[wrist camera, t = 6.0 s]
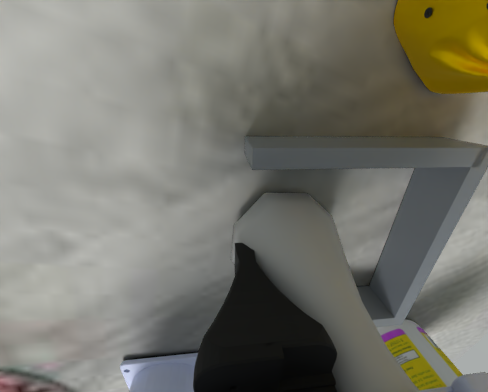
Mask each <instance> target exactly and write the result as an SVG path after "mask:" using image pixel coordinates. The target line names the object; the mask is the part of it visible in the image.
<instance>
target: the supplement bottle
mask: <svg viewBox="0 0 488 392" xmlns="http://www.w3.org/2000/svg"><path fill="white" fill-rule="evenodd" d="M377 330H378V332H379V333H380V335H381V337H382V339H383V341H384V343H385V344H386V346H387V348H388V349H389V351H390V352H391V353H392V355H393V356H394V358H395V359H396V360H397V362H398V363H399V364H400V366H401V367H402V369H403V370H404V371H405V373H406V374H407V376H408V377H409V378H410V380H411V381H412V382H413V383H414V385H415V386H416V387H417V388H418V389H419V390H426V389H433V388H441V387H448V386H451V384H452V382H453V381H454V380H455V379H456V378H457V377H459V376H462V373H461V372H460V371H459V370H458V369H457V368H456V367H455V365H454V364H453V363H452V362H451V361H450V360H449V358H448V357H447V356H446V355H445V354H444V353H443V352H442V351H441V349H440V348H439V347H438V346H437V345H436V344H435V343H434V341H433V340H432V339H431V338H430V337H429V336H428V335H427V333H426V332H425V331H424V330H423V329H422V328H421V327H420V326H419V325H418V324H417V323H415V322H413V321H411V320H407V319H405V320H404V322H403V324H402V325H396V326H387V327H377Z"/></svg>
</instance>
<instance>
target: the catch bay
mask: <svg viewBox="0 0 488 392" xmlns="http://www.w3.org/2000/svg"><path fill="white" fill-rule="evenodd" d="M245 155H246V158H247V160H248V162H249V164H250V167H251V169H252V170H280V169H357V168H415V170H414V172H413V175H412V177H411V180H410V183H409V185H408V188H407V190H406V193H405V195H404V198H403V200H402V203H401V206H400V208H399V211H398V213H397V216H396V218H395V221H394V224H393V226H392V229H391V231H390V234H389V236H388V239H387V242H386V244H385V247H384V249H383V252H382V254H381V257H380V260H379V262H378V265H377V267H376V270H375V272H374V275H373V278H372V280H371V283H370V285H369V286H362V287H357V289H358V292H359V295H360V297H361V300H362V302H363V304H364V306H365V308H366V310H367V312H368V313H369V315H370V317H371V319H372V321H373V323H374V324H375V326H376V328H377V327H387V326H396V325H402V324H403V322H404V320H405V318H406V316H407V315H408V313H409V311H410V309H411V307H412V305H413V304H414V302H415V300H416V298H417V296H418V294H419V293H420V291H421V289H422V287H423V285H424V283H425V282H426V280H427V278H428V276H429V274H430V272H431V271H432V269H433V267H434V265H435V263H436V261H437V259H438V258H439V256H440V254H441V252H442V250H443V248H444V247H445V245H446V243H447V241H448V239H449V237H450V236H451V234H452V232H453V230H454V228H455V226H456V225H457V223H458V221H459V219H460V217H461V215H462V213H463V212H464V210H465V208H466V206H467V204H468V202H469V201H470V199H471V197H472V195H473V193H474V191H475V190H476V188H477V186H478V184H479V182H480V180H481V179H482V177H483V175H484V173H485V171H486V169H487V167H488V146H486V145H481V144H476V143H470V142H465V141H459V140H454V139H449V138H443V137H288V136H245Z"/></svg>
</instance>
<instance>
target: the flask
mask: <svg viewBox="0 0 488 392" xmlns="http://www.w3.org/2000/svg"><path fill="white" fill-rule="evenodd" d="M235 243H244V244H245V245H247V246H248V247H250V248H251V249H253V250H254V251H255V259H256V262H257V264H258V265H259V267H260V268H261V269H262V271H263V272H264V273H265V275H266V276H267V277H268V278H269V280H270V281H271V282H272V283H273V284H274V285H275V286H276V287H277V288H278V289H279V290H280V291H281V292H282V293H283V294H284V295H285V296H286V297H287V298H288V299H289V300H290V301H291V302H292V303H294V304H295V305H296V306H297V307H298V308H299V309H301V310H302V311H303V312H304V313H306V314H307V315H309V316H310V317H312V318H313V319H314V320H316V321H317V322H319V323H320V324H322V325H323V327H324V328H325V330H326V331H327V333H328V335H329V336H330V338H331V340H332V342H333V344H334V346H335V348H336V351H337V359H336V361H335V364H334V367H333V369H332V373H333V375H334V378H335V380H336V385H335V387H336V390H337V392H420V390H419V389H418V388H417V387H416V386H415V385H414V383H413V382H412V381H411V380H410V378H409V377H408V376H407V374H406V373H405V371H404V370H403V369H402V367H401V366H400V364H399V363H398V362H397V360H396V359H395V358H394V356H393V355H392V353H391V352H390V351H389V349H388V348H387V346H386V344H385V343H384V341H383V339H382V337H381V335H380V333H379V332H378V330H377V328H376V326H375V324H374V323H373V321H372V319H371V317H370V315H369V313H368V312H367V310H366V308H365V306H364V304H363V302H362V300H361V297H360V295H359V292H358V289H357V287H356V284H355V281H354V279H353V276H352V273H351V271H350V268H349V265H348V262H347V260H346V257H345V254H344V251H343V248H342V245H341V242H340V239H339V236H338V232H337V229H336V226H335V223H334V221H333V218H332V215H330V214H329V213H328V212H327V211H326V210H325V209H324V208H323V207H322V206H321V205H320V204H319V203H318V202H316V201H315V200H314V199H313V198H312V197H311V196H310V195H309V194H308V193H264V194H263V195H262V196H261V197H260V198H259V199H258V200H257V201H256V202H255V203H254V204H253V206H252V207H251V208H250V209H249V210H248V211H247V212H246V213H245V214H244V215H243V216H242V217H241V218H240V219H239V220H238V221H237V222H236V223H235V224H234V229H233V239H232V250H231V261H232V262H233V263H234V265H235Z"/></svg>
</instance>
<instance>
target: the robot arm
mask: <svg viewBox="0 0 488 392" xmlns="http://www.w3.org/2000/svg"><path fill="white" fill-rule="evenodd" d="M336 359H337V351H336V348H335V346H334V344H333V342H332V340H331V338H330V336H329V335H328V333H327V331H326V330H325V328H324V327H323V325H322V324H320V323H319V322H317V321H316V320H314V319H313V318H312V317H310V316H309V315H307V314H306V313H304V312H303V311H302V310H301V309H299V308H298V307H297V306H296V305H295V304H294V303H292V302H291V301H290V300H289V299H288V298H287V297H286V296H285V295H284V294H283V293H282V292H281V291H280V290H279V289H278V288H277V287H276V286H275V285H274V284H273V283H272V282H271V281H270V280H269V278H268V277H267V276H266V275H265V273H264V272H263V271H262V269H261V268H260V267H259V265H258V264H257V262H256V259H255V251H254V250H253V249H251V248H250V247H248V246H247V245H245V244H244V243H235V278H234V280H233V283H232V286H231V288H230V291H229V293H228V295H227V297H226V300H225V302H224V304H223V306H222V308H221V309H220V311H219V313H218V315H217V317H216V318H215V320H214V322H213V323H212V325H211V326H210V328H209V329H208V331H207V332H206V334H205V335H204V338H203V341H202V343H201V346H200V349H199V352H198V353H190V354H181V355H171V356H162V357H152V358H143V359H133V360H125V361H123V362H122V363H121V365H120V369H121V371H122V374H123V376H124V379H125V381H126V383H127V386H128V388H129V392H337V390H336V387H335V385H336V380H335V378H334V375H333V373H332V369H333V367H334V364H335V361H336ZM420 392H488V373H485V372H481V373H474V374H466V375H462V376H459V377H457V378H456V379H455V380H454V381H453V382H452V384H451V386H448V387H441V388H433V389H426V390H420Z"/></svg>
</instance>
